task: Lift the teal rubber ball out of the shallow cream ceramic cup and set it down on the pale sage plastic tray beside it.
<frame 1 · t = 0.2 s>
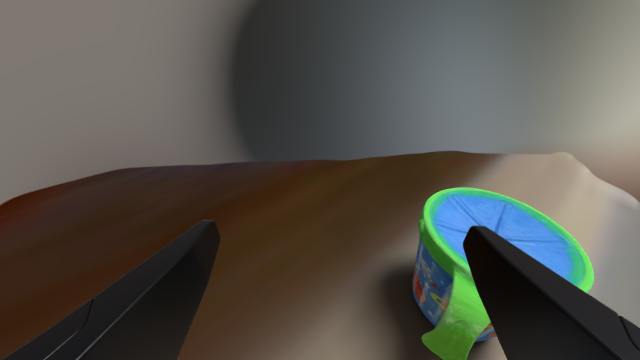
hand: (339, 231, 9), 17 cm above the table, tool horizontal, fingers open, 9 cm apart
snack cup: (450, 301, 24), on the table
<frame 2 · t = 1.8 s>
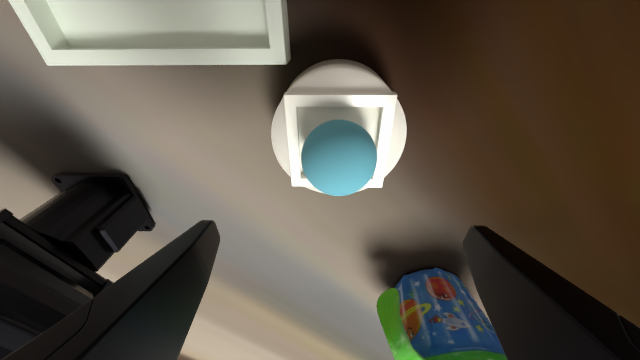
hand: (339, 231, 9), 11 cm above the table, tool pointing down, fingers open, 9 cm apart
ball: (337, 141, 14), point 3 cm above the table, touching cup
cup: (336, 120, 17), on the table
snack cup: (425, 283, 28), on the table
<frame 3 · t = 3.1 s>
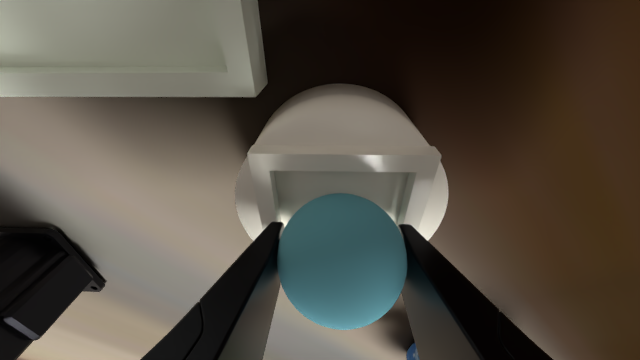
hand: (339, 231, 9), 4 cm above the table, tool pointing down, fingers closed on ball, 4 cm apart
ball: (339, 213, 9), point 3 cm above the table, touching cup, gripper
cup: (337, 166, 12), on the table
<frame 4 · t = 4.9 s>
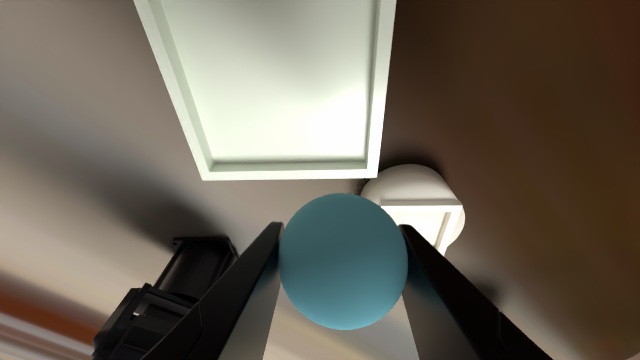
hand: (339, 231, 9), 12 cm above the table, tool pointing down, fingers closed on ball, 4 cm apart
ball: (339, 213, 9), point 11 cm above the table, touching gripper
cup: (402, 200, 23), on the table
tray: (276, 48, 16), on the table
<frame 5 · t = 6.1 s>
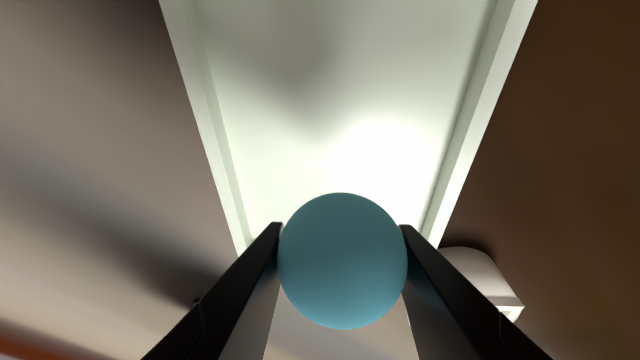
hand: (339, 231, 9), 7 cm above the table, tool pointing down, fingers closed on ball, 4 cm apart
ball: (339, 212, 9), point 6 cm above the table, touching gripper
cup: (444, 276, 21), on the table
tray: (336, 141, 14), on the table
when the fingers open (3 cm above the table, at t = 7.1 s): ball drops 1 cm, resting on tray.
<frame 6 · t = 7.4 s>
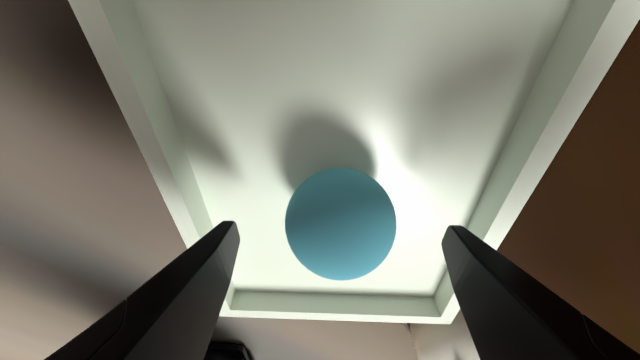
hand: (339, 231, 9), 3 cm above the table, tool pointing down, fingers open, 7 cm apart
ball: (338, 189, 11), point 1 cm above the table, touching tray
cup: (464, 323, 18), on the table
tray: (337, 179, 11), on the table
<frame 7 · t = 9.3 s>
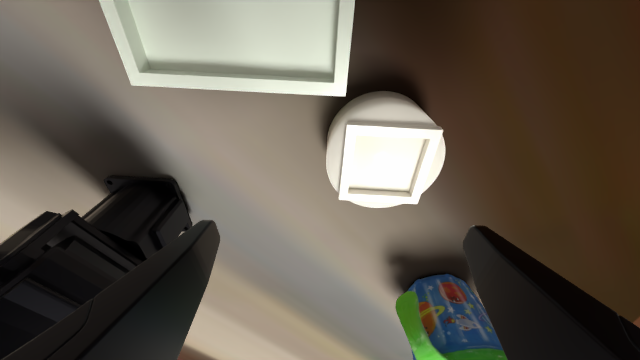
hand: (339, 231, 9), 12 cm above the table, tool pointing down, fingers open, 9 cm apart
cup: (376, 141, 20), on the table
snack cup: (434, 287, 31), on the table
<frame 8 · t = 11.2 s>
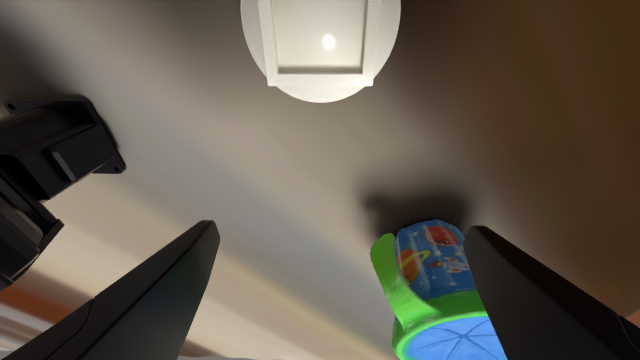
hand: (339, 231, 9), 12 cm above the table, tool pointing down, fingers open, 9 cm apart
cup: (321, 21, 15), on the table
snack cup: (423, 240, 26), on the table
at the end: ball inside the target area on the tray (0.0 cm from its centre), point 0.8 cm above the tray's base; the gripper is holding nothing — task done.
